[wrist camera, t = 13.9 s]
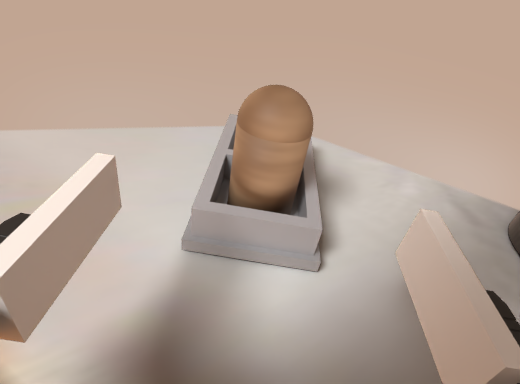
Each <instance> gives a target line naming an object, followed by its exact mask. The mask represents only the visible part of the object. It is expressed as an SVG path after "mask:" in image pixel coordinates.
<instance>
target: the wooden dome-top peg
mask: <svg viewBox="0 0 520 384" xmlns="http://www.w3.org/2000/svg"><path fill="white" fill-rule="evenodd" d="M312 131H313V117H312V112H311V109H310V107H309V105H308V103H307V102H306V100H305V99H304V98H303V97H302V96H301V95H300V94H299V93H298V92H297V91H295V90H293V89H292V88H289V87H286V86H282V85H268V86H264V87H262V88H259V89H257V90H256V91H254V92H253V93H251V94H250V95H249V96H248V97H247V98H246V99H245V101H244V102H243V104H242V106H241V107H240V109H239V113H238V117H237V123H236V132H235V141H234V149H233V158H232V166H231V175H230V184H229V192H228V201H227V205H233V206H239V207H245V208H251V209H257V210H263V211H269V212H275V213H281V214H287V215H290V213H291V210H292V206H293V202H294V198H295V195H296V191H297V187H298V184H299V180H300V176H301V172H302V169H303V165H304V161H305V158H306V154H307V150H308V146H309V143H310V139H311V135H312Z"/></svg>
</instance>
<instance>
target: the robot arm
mask: <svg viewBox="0 0 520 384" xmlns="http://www.w3.org/2000/svg"><path fill="white" fill-rule="evenodd" d="M121 207H122V206H121V199H120V191H119V183H118V175H117V168H116V160H115V156H113V155H107V154H101V153H96V154H95V155H94V156H93V157H92V158H91V159H90V160H88V161H87V162H86V163H85V164H84V165H83V166H82V167H81V168H80V169H79V170H78V171H77V172H76V173H75V174H74V175H73V176H72V177H71V178H69V179H68V180H67V181H66V182H65V183H64V184H63V185H62V186H61V187H60V188H59V189H58V190H57V191H56V192H55V193H54V194H53V195H52V196H50V197H49V198H48V199H47V200H46V201H45V202H44V203H43V204H42V205H41V206H40V207H39V208H38V209H37V210H36V211H35V212H34V213H33V214H25V213H20V214H18V215H16V216H14V217H12V218H10V219H8V220H6V221H4V222H3V223H2V224H0V339H5V340H11V341H17V342H23V343H25V342H26V340H27V339H28V338H29V336H30V335H31V333H32V332H33V331H34V329H35V328H36V326H37V325H38V324H39V322H40V321H41V319H42V318H43V317H44V315H45V314H46V312H47V311H48V310H49V308H50V307H51V305H52V304H53V303H54V301H55V300H56V298H57V297H58V296H59V294H60V293H61V291H62V290H63V288H64V287H65V286H66V284H67V283H68V281H69V280H70V279H71V277H72V276H73V274H74V273H75V272H76V270H77V269H78V267H79V266H80V265H81V263H82V262H83V260H84V259H85V258H86V256H87V255H88V253H89V252H90V251H91V249H92V248H93V246H94V245H95V244H96V242H97V241H98V239H99V238H100V237H101V235H102V234H103V232H104V231H105V229H106V228H107V227H108V225H109V224H110V222H111V221H112V220H113V218H114V217H115V215H116V214H117V213H118V211H119V210H120V208H121ZM508 230H509V236H510V239H511V241H512V244H513V245H514V247H515V249H516V250H517V252H518V253H519V254H520V211H519V213H518V214H517V215H516V216H515V218H514V219H513V220H512V221H511V223H510V224H509V229H508ZM395 255H396V257H397V260H398V263H399V266H400V268H401V271H402V274H403V277H404V279H405V282H406V285H407V287H408V290H409V293H410V296H411V298H412V301H413V304H414V307H415V309H416V312H417V315H418V318H419V320H420V323H421V326H422V329H423V331H424V334H425V337H426V340H427V342H428V345H429V348H430V351H431V353H432V356H433V359H434V362H435V364H436V367H437V370H438V373H439V375H440V378H441V381H442V384H520V325H519V323H518V322H516V321H515V320H516V318H515V317H514V315H513V314H512V312H511V311H510V309H509V308H508V306H507V305H506V304H505V303H504V302H503V301H502V300H501V299H500V298H499V297H498V296H497V295H496V294H495V293H494V292H493V291H489V290H485V289H484V287H483V285H482V284H481V282H480V281H479V279H478V277H477V276H476V274H475V272H474V271H473V269H472V267H471V266H470V264H469V262H468V261H467V259H466V257H465V256H464V254H463V252H462V251H461V249H460V247H459V246H458V244H457V242H456V241H455V239H454V237H453V236H452V234H451V232H450V231H449V229H448V227H447V226H446V224H445V222H444V221H443V219H442V218H441V216H440V214H439V213H438V212H437V211H431V210H425V209H420V210H419V212H418V214H417V216H416V217H415V219H414V221H413V223H412V224H411V226H410V228H409V230H408V231H407V233H406V235H405V237H404V238H403V240H402V242H401V244H400V245H399V247H398V249H397V251H396V252H395Z"/></svg>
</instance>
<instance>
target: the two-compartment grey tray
mask: <svg viewBox="0 0 520 384" xmlns="http://www.w3.org/2000/svg"><path fill="white" fill-rule="evenodd" d="M237 117H238V115H233V114H230V115H229V118H228V121H227V123H226V125H225V128H224V130H223V133H222V135H221V137H220V140H219V142H218V145H217V147H216V150H215V152H214V155H213V157H212V159H211V162H210V164H209V167H208V169H207V172H206V174H205V177H204V179H203V182H202V184H201V186H200V189H199V191H198V194H197V196H196V199H195V201H194V204H193V206H192V211H191V217H190V220H189V222H188V225H187V227H186V230H185V232H184V235H183V237H182V250H188V251H194V252H200V253H206V254H212V255H218V256H224V257H231V258H237V259H243V260H249V261H255V262H261V263H267V264H273V265H279V266H286V267H292V268H298V269H304V270H310V271H316V272H317V271H318V268H319V266H320V263H321V259H320V250H319V239H320V236H321V233H322V230H323V229H322V221H321V213H320V205H319V197H318V189H317V181H316V173H315V165H314V157H313V149H312V141H311V139H310V143H309V146H308V150H307V154H306V158H305V161H304V165H303V169H302V172H301V176H300V180H299V184H298V187H297V191H296V195H295V198H294V202H293V206H292V210H291V213H290V215H287V214H281V213H275V212H269V211H263V210H257V209H251V208H245V207H239V206H233V205H227V201H228V192H229V184H230V175H231V166H232V158H233V149H234V141H235V132H236V123H237Z"/></svg>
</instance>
